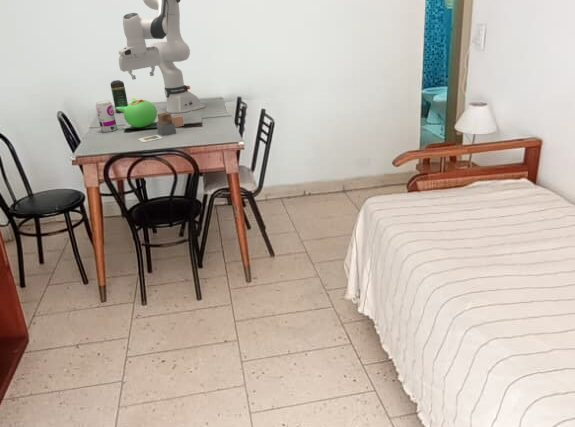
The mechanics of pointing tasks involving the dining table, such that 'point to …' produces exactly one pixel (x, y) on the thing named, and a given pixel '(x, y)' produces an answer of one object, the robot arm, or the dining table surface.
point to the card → (150, 138)
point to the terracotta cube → (177, 120)
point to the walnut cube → (164, 119)
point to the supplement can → (106, 116)
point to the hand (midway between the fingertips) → (143, 77)
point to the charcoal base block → (166, 129)
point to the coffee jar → (119, 94)
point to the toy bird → (139, 113)
